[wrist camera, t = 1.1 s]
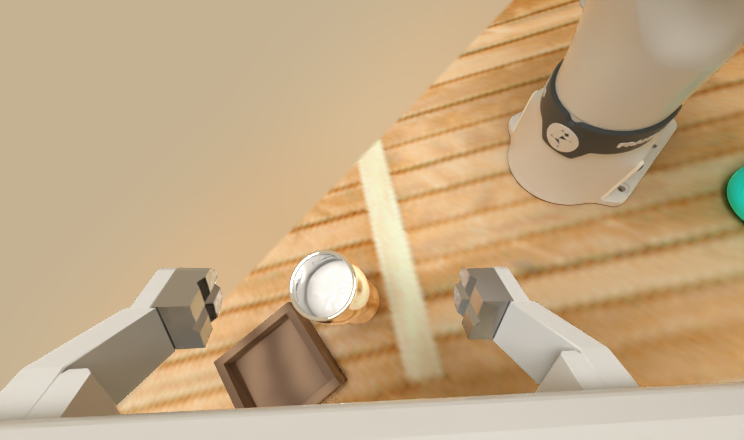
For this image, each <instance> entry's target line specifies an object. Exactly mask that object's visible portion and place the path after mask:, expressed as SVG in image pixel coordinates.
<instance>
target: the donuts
mask: <svg viewBox="0 0 744 440" xmlns="http://www.w3.org/2000/svg"><path fill="white" fill-rule="evenodd" d="M727 198H728V201H729V203H730V206H731V207H732V209H733V210H734V212H735V213H736V214H737V215H738V216H739V217H740V218H741V219H742V220H743V221H744V166H743V167H741V168H740V169H739V170H737V171H736V172H735V173H734V174H733V176H732V177H731V178H730V180H729V183H728V186H727Z"/></svg>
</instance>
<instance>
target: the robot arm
mask: <svg viewBox="0 0 744 440" xmlns="http://www.w3.org/2000/svg"><path fill="white" fill-rule="evenodd" d="M743 44H744V0H585V4H584V8H583V11H582V14H581V17H580V20H579V23H578V26H577V29H576V31H575V34H574V36H573V39H572V42H571V44H570V46H569V49H568V51H567V53H566V56H565V58H564V59H563V60H562V61H561V62H560V63H559V64H558V65H557V67H556V68H555V70H554V72H553V73H552V74H551V76H550V77H549V79H548V81H547V83H546V85H545V86H544V87H543V88H541V89H540V90H539V91H538V90H536V91H535V92H534V93H533V94H532V95H531V97H530V99H529V101H528V103H527V105H526V106H525V108H524V110H523V111H521V112H520V113H518V114H516V115H514V116H513V117H511V119H510V120H509V122H508V130H509V134H510V137H511V142H510V146H509V151H508V162H509V166H510V169H511V172H512V174H513V176H514V177H515V179H516V180H517V181H518V183H519V184H520V185H521V186H522V187H523V188H524V189H526V190H527V191H528V192H530V193H531V194H533V195H534V196H536V197H538V198H540V199H543V200H545V201H548V202H552V203H557V204H564V205H575V204H584V203H598V204H603V205H608V206H619V205H621V204H623V203H624V202H625V201H626V200H627V198H628V197H629V196H630V194H631V193H632V191H633V190H634V188H635V187H636V186H637V184H638V183H639V181H640V180H641V179H642V177H643V176H644V174H645V173H646V171H647V170H648V169H649V167H650V166H651V164H652V163H653V161H654V160H655V159H656V157H657V156H658V154H659V153H660V151H661V150H662V149H663V147H664V146H665V144H666V143H667V142H668V140H669V139H670V137H671V136H672V134H673V133H674V132H675V130H676V128H677V123H676V121H675V119H674V117H675V116H676V115H677V113H678V112H679V110H680V109H681V107H682V104H683V103H684V102H685V101H686V100H687V99H688V98H689V97H690V96H691V95H692V94H693V93H694V92H696V91H697V90H698V89H699V88H700V87H701V86H702V85H703V84H704V83H705V82H706V81H707V80H709V79H710V78H711V77H712V76H713V75H714V74H715V73H716V72H717V71H718V70H719V69H720V68H722V67H723V66H724V65H725V64H726V63H727V62H728V61H729V60H730V59H731V58H732V57H733V56H734V55H735V54H736V53H737V52H738V51H739V50H740V48H741V47H742V45H743ZM618 188H620V189H621V190H622V192H621V191H619V190H618ZM459 278H460V280H461V281H460V282H459V283H458V284H457V285H456V286H455V290H454V302H455V306H456V309H457V312H458V313H460V314H461V315H462V316H463V317H464V318H463V321H462V324H463V327H464V329H465V332H466V334H467V337H468V339H493V341H494V342H495V343H496V344H497V345H498V346H499V347H500V348H501V349H502V350H503V351H504V352H505V353H506V354H507V355H508V356H510V357H511V358H512V359H513V360H514V361H515V362H516V363H517V364H518V365H519V366H520V367H521V368H522V369H523V370H524V371H525V372H526V373H527V374H528V375H529V376H530V377H531V378H532V379H533V380H534V381H535V382H536V383H537V384H538V385H539V387H538V388H537V390H536V391H535V393H519V394H500V395H481V396H463V397H444V398H425V399H406V400H388V401H369V402H350V403H331V404H312V405H293V406H274V407H255V408H236V409H217V410H198V411H179V412H160V413H141V414H122V413H121V411H120V410H119V409H118V407H117V406H116V405H118V404H119V403H120V402H121V401H122V400H123V399H124V398H125V397H126V396H127V395H128V394H129V393H130V392H132V391H133V390H134V389H135V388H136V387H137V386H138V385H139V384H140V383H141V382H142V381H143V380H144V379H145V378H146V377H148V376H149V375H150V374H151V373H152V372H153V371H154V370H155V369H156V368H157V367H158V366H159V365H160V364H162V363H163V362H164V361H165V360H166V359H167V358H168V357H169V356H170V355H171V354H172V353H173V352H174V351H175V350H174V349H191V348H205V346H206V344H207V342H208V339H209V337H210V334H211V332H212V330H213V328H212V325H211V322H212V321H213V320H215V319H216V318H217V317H218V315H219V312H220V310H221V304H222V293H221V289H220V287H219V286H217V285H216V284H215V282H216V280H217V275H216V272H215V270H214V269H212V268H161V269H159V270H158V271H157V272H156V273H155V274H154V276H153V277H152V278H151V280H150V281H149V282H148V284H147V285H146V287H145V288H144V289H143V291H142V292H141V293H140V295H139V296H138V298H137V299H136V300H135V302H134V303H133V304H132V306H131V307H130V308H125V309H123V310H121V311H119V312H117V313H116V314H114V315H112V316H110V317H109V318H107V319H105V320H104V321H102V322H100V323H99V324H97V325H95V326H94V327H92V328H90V329H89V330H87V331H85V332H84V333H82V334H80V335H78V336H77V337H75V338H74V339H72V340H70V341H68V342H67V343H65V344H63V345H62V346H60V347H58V348H56V349H55V350H53V351H51V352H50V353H48V354H46V355H45V356H43V357H41V358H40V359H38V360H36V361H35V362H33V363H31V364H30V365H28V366H26V367H25V368H23V369H21V371H20V372H19V373H18V374H17V375H16V376H15V377H14V378H13V379H12V380H11V382H10V383H9V384H8V385H7V386H6V387H5V388H4V389H3V390H2V391H1V392H0V440H744V382H727V383H708V384H690V385H671V386H652V387H640V386H639V385H638V384H637V383H636V381H635V380H634V379H633V378H632V376H631V375H630V374H629V373H628V372H627V370H626V369H625V368H624V367H623V365H622V364H621V363H620V362H619V360H618V359H617V358H616V357H615V355H614V354H613V353H612V352H611V351H610V349H609V348H608V347H606V346H604V345H603V344H601V343H600V342H598V341H596V340H595V339H593V338H592V337H590V336H589V335H587V334H585V333H584V332H582V331H581V330H579V329H578V328H576V327H574V326H573V325H571V324H570V323H568V322H567V321H565V320H563V319H562V318H560V317H559V316H557V315H556V314H554V313H552V312H551V311H549V310H548V309H546V308H545V307H543V306H541V305H540V304H538V303H537V302H535V301H530V300H529V298H528V297H527V296H526V294H525V293H524V291H523V290H522V288H521V287H520V285H519V284H518V282H517V281H516V279H515V278H514V276H513V275H512V273H511V272H510V270H509V269H508V268H507V267H505V266H497V267H463V268H462V269H461V270H460V273H459Z"/></svg>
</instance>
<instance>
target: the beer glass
mask: <svg viewBox="0 0 744 440" xmlns="http://www.w3.org/2000/svg"><path fill="white" fill-rule="evenodd" d="M289 294H290V299H291V302H292V304H293V306H294V308H295V309H296V310H297V311H298V312H299V313H300V314H301V315H302V316H304V317H305V318H307V319H310V320H313V321H316V322H319V323H323V324H327V325H343V324H346V323H349V322H350V323H353V324H361V323H365V322H367V321H369V320H370V319H371V318H372V317H373V316H374V315H375V314H376V312H377V310H378V307H379V302H380V298H379V293H378V291H377V289H376V287H375V286H374V285H373V284H372V283H371V282H370V281H368V280H367V277H366V275H365V274H364V272H363V271H362V270H361V269H360V268H359V267H358V266H357V265H356V264H355V263H354V262H352V261H351V260H349V259H348V258H346V257H344V256H343V255H341V254H339V253H337V252H334V251H330V250H321V251H317V252H314V253H311V254H309V255H308V256H306V257H305V258H303V259H302V260H301V261H300V262H299V263H298V265H297V266H296V267H295V269H294V271H293V273H292V275H291V278H290V283H289Z"/></svg>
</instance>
